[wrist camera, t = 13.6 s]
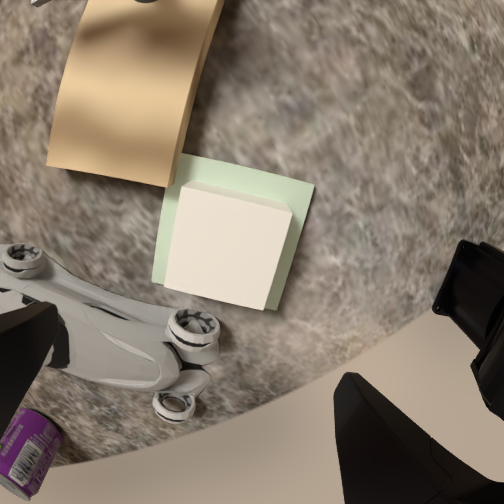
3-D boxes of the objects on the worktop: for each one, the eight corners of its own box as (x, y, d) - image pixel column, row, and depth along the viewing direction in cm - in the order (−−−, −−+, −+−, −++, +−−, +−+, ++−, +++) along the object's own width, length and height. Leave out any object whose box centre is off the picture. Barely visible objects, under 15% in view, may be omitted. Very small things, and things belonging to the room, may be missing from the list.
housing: (175, 183, 19) (166, 187, 17) (62, 162, 18) (45, 165, 16) (236, -31, 14) (235, -46, 12) (119, -33, 13) (109, -45, 11)
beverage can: (15, 397, 27) (-26, 458, 16) (55, 414, 28) (16, 485, 16) (32, 430, 30) (0, 486, 18) (70, 445, 30) (42, 510, 19)
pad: (276, 307, 22) (276, 310, 21) (153, 279, 21) (151, 281, 21) (313, 184, 19) (314, 185, 19) (174, 151, 18) (172, 151, 18)
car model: (201, 405, 26) (194, 447, 21) (-6, 319, 24) (-32, 343, 19) (233, 312, 22) (229, 353, 18) (-14, 223, 20) (-50, 239, 15)
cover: (261, 288, 21) (263, 310, 18) (175, 267, 20) (164, 286, 18) (286, 202, 19) (292, 213, 16) (192, 180, 18) (181, 186, 16)
